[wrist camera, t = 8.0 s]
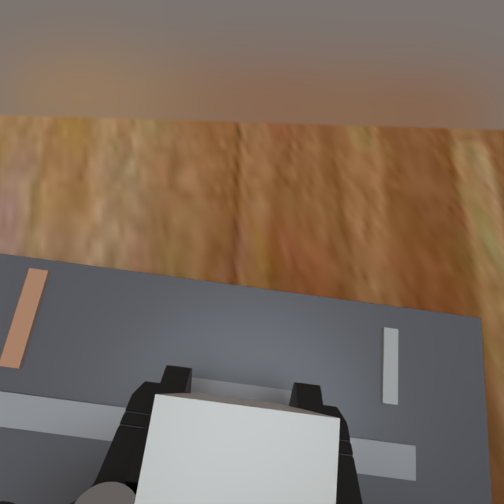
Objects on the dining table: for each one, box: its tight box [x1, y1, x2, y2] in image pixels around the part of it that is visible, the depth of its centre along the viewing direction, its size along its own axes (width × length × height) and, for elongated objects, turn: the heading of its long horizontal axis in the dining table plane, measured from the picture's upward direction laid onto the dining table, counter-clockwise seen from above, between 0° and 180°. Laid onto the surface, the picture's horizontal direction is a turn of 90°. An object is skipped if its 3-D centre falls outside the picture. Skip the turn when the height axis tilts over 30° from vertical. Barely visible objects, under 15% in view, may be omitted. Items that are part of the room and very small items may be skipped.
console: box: [0, 254, 492, 504], centre depth 17 cm, size 23×12×3 cm, turn 83°
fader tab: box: [134, 377, 340, 504], centre depth 11 cm, size 4×4×10 cm
